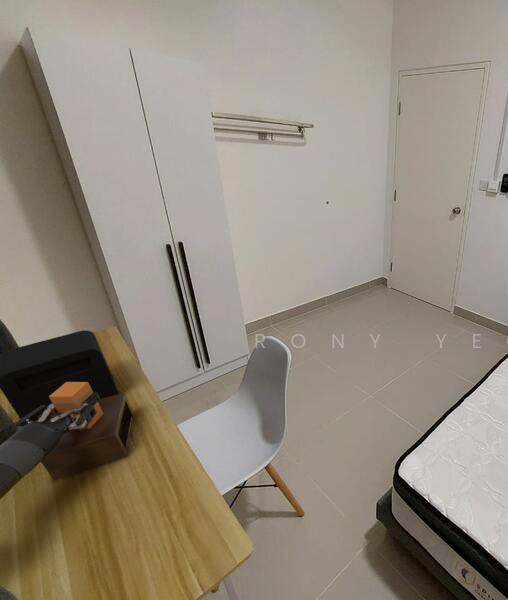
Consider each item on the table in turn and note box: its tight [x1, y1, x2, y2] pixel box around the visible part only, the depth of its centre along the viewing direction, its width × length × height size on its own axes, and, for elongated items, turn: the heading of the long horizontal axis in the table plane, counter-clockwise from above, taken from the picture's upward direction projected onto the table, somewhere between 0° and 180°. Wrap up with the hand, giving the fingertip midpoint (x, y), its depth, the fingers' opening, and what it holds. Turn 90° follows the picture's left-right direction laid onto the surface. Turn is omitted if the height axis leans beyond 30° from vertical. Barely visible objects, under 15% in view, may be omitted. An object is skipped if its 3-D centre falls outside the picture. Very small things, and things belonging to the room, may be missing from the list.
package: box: [49, 382, 103, 429], centre depth 81 cm, size 5×5×11 cm
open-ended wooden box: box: [40, 392, 135, 481], centre depth 86 cm, size 14×16×9 cm
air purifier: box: [0, 329, 120, 420], centre depth 96 cm, size 20×15×20 cm
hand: (84, 395), depth 83 cm, fingers open, 5 cm apart
